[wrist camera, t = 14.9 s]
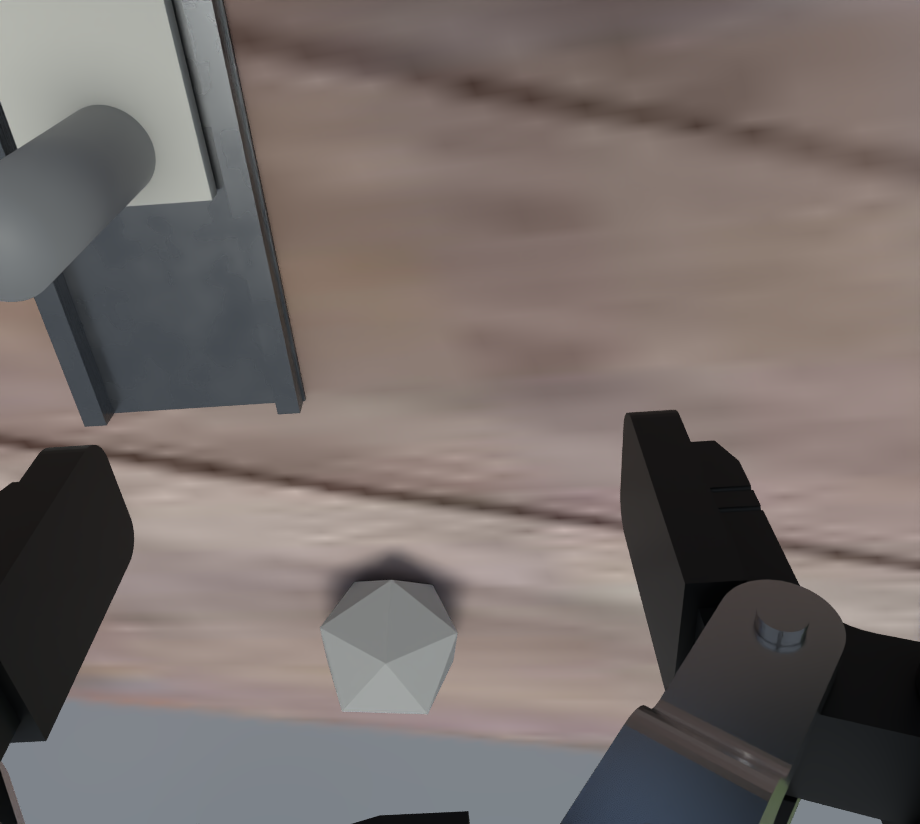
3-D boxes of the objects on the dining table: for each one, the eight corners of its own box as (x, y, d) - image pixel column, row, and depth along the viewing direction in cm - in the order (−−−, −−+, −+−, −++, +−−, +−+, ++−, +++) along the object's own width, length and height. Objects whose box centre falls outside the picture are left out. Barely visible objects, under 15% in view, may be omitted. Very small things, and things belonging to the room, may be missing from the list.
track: (-237, -448, 27) (-269, -463, 26) (122, -484, 26) (107, -501, 25) (92, 412, 46) (83, 426, 44) (305, 398, 45) (302, 412, 44)
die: (324, 630, 57) (390, 758, 52) (273, 602, 49) (345, 748, 44) (423, 564, 57) (497, 684, 53) (388, 526, 50) (470, 662, 45)
